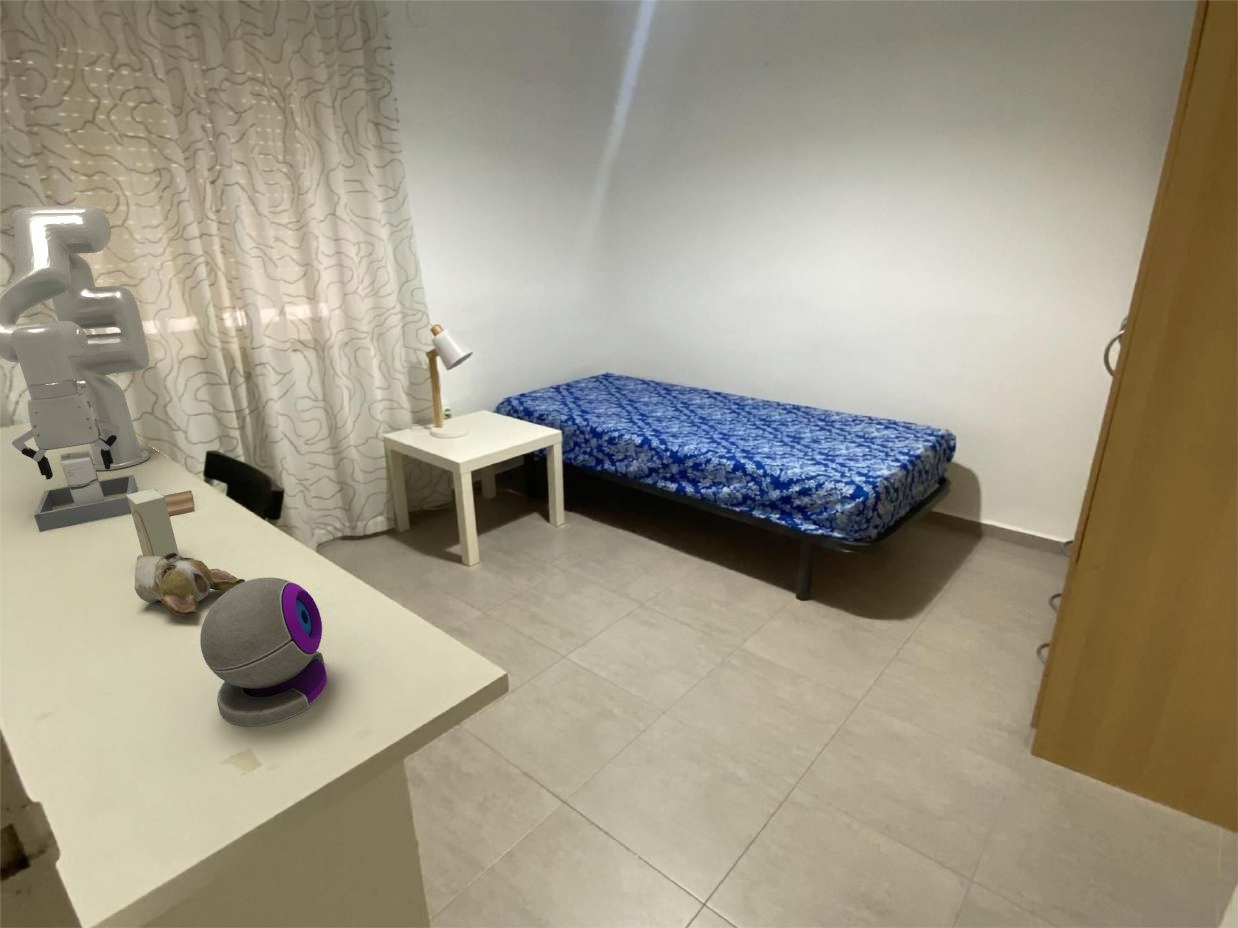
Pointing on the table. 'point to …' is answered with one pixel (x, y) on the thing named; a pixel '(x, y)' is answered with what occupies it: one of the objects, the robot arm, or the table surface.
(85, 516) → the bin
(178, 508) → the pad
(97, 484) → the ink box
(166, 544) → the skincare box
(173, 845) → the table surface
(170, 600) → the ceramic sculpture
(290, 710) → the webcam
